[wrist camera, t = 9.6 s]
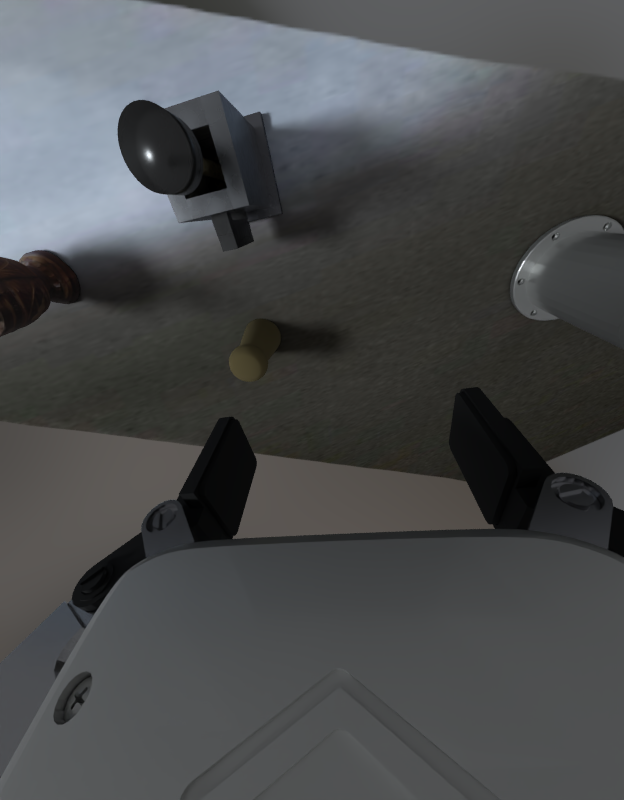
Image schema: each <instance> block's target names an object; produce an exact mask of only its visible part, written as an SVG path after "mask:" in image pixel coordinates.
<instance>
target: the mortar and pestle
mask: <svg viewBox="0 0 624 800" xmlns="http://www.w3.org/2000/svg"><path fill="white" fill-rule="evenodd" d="M79 291H80V286H79V282H78V280H77V277H76V275H75V273H74V272H73V271H72V270H71V269H70V267H69V266H68V265H67V264H66V263H65V262H63V261H62V260H61V259H59V258H58V257H57V256H55V255H53V254H51V253H49V252H46V251H39V250H37V251H32V252H29V253H26V254H24V255H23V256H22V257H21V259H20V260H19V262H18V261H15V260H12V259H7V258H3V257H0V337H1V336H3V335H6V334H8V333H10V332H14V331H15V330H17V329H20V328H22V327H25V326H27V325H29V324H31V323H32V322H34V321H35V320H37V319H38V318H39V317H40V316H41V314H43V313H44V312H45V311H46V310H47V309H48V308H49V305H50V301H52V302H56V303H62V304H70V303H74V302H75V301H76V300H77V299H78V297H79Z"/></svg>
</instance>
